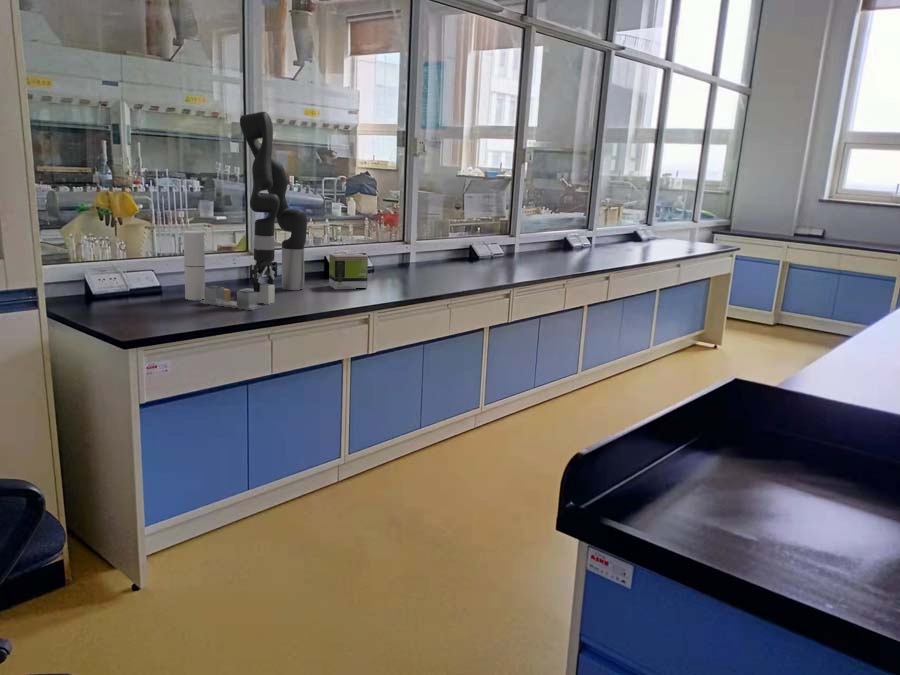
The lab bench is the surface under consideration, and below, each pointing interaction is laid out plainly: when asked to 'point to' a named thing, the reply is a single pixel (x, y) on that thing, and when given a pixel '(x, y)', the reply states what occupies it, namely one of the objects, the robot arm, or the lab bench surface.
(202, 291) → the cylindrical container
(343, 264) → the tea box
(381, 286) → the lab bench surface
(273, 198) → the robot arm
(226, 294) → the terminal block
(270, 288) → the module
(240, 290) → the supply block
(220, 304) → the rail
